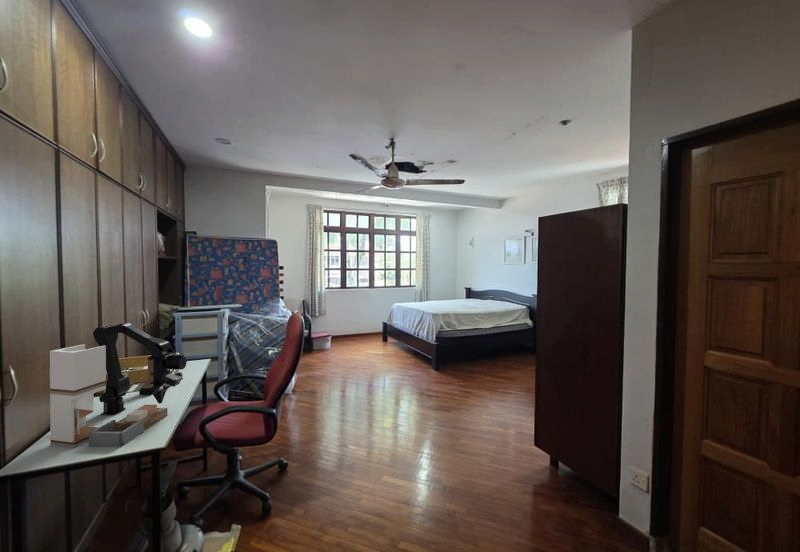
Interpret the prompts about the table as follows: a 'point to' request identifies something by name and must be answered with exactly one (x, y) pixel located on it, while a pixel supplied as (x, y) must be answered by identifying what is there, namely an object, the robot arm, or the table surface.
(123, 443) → the charcoal tray
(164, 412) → the wooden board
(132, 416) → the cream tile
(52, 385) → the white dispenser tower
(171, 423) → the table surface
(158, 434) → the table surface
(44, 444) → the table surface
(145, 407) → the terracotta tile
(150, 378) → the wooden block
